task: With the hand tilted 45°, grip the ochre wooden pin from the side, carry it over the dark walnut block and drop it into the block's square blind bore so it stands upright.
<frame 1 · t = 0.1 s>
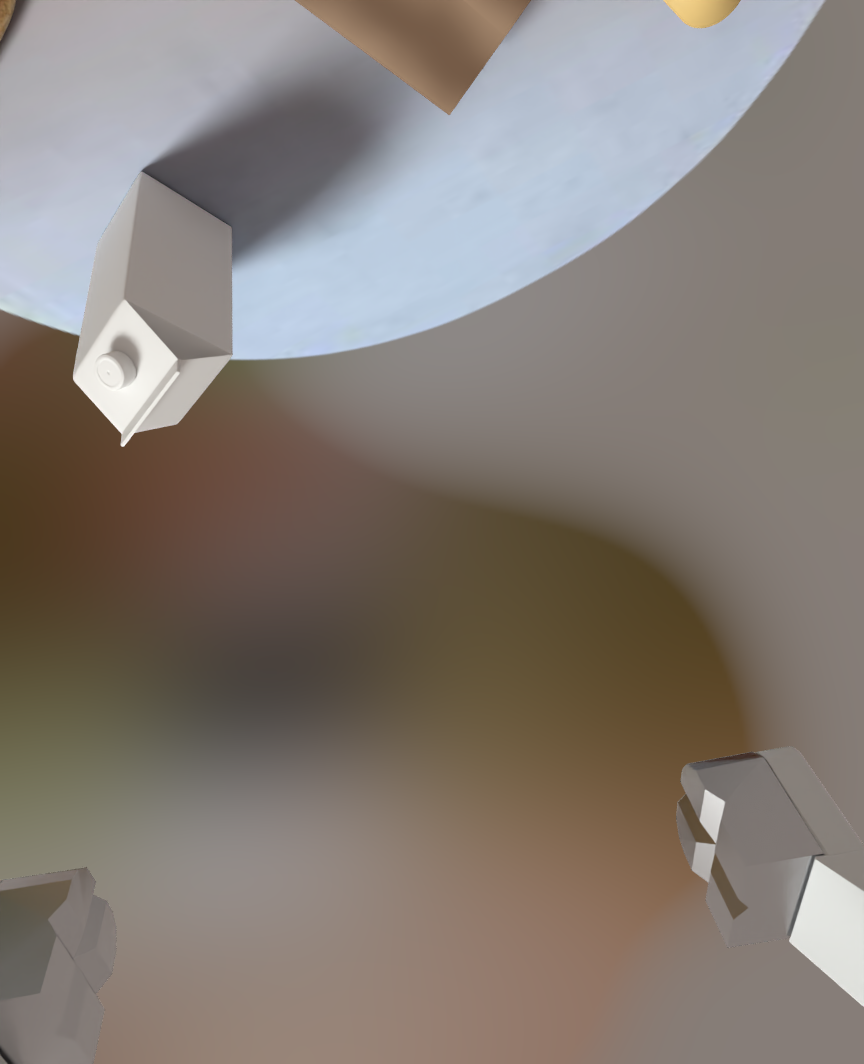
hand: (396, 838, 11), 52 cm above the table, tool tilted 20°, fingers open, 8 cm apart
milk carton: (164, 233, 58), on the table
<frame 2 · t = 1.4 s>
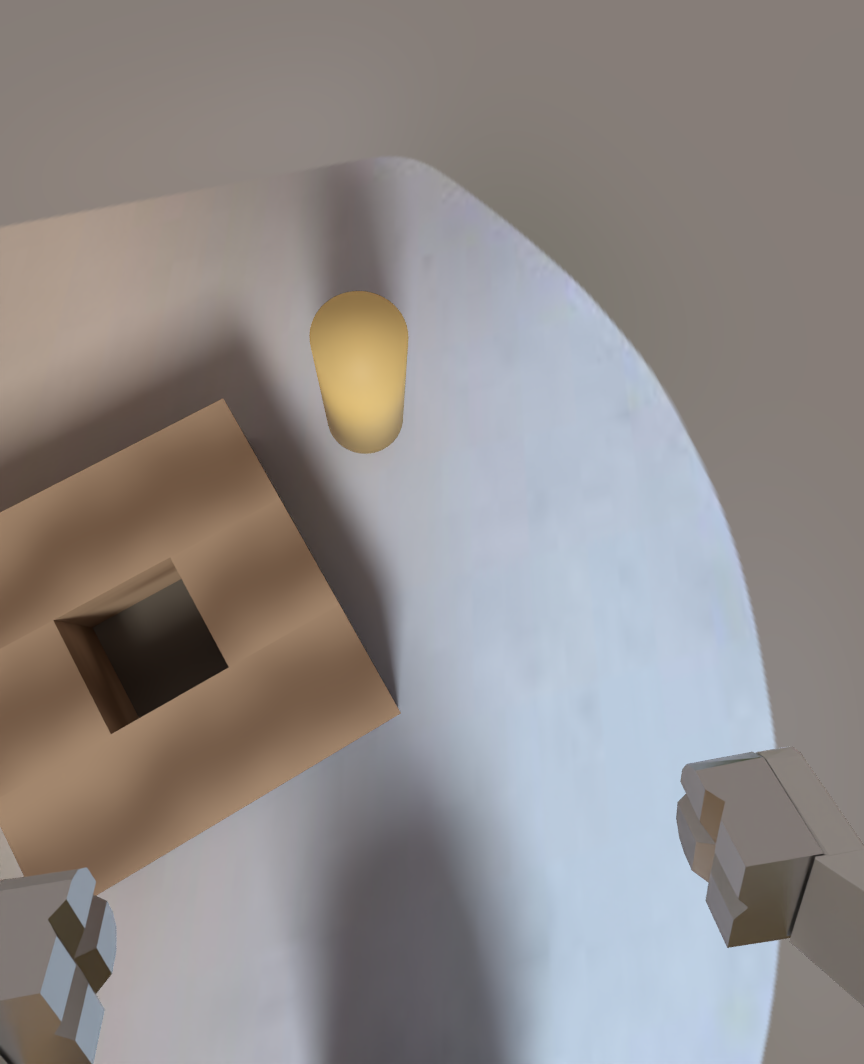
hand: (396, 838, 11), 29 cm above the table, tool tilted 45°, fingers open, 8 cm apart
pin: (365, 417, 42), on the table
bore block: (178, 649, 39), on the table
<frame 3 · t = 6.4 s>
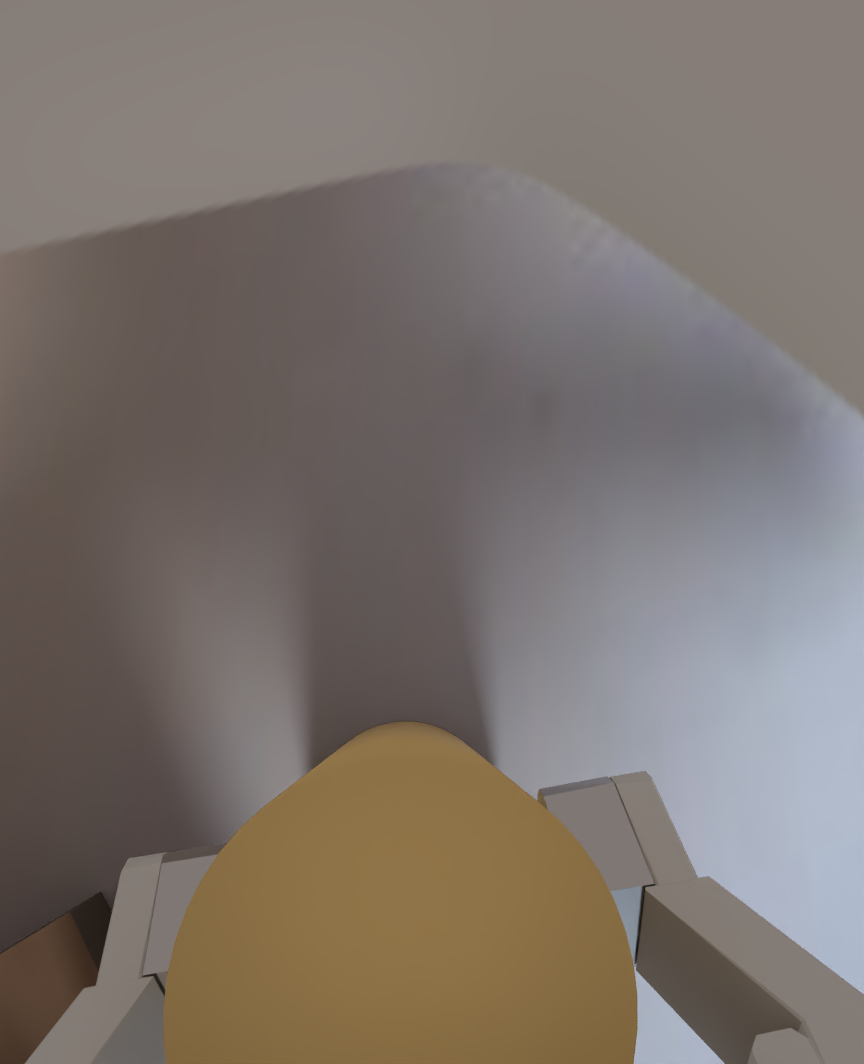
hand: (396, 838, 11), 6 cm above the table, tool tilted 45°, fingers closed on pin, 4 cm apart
pin: (405, 819, 16), on the table, touching gripper
when the fingers open (9 cm above the table, at t = 13.0 s): pin drops 1 cm, resting on bore block.
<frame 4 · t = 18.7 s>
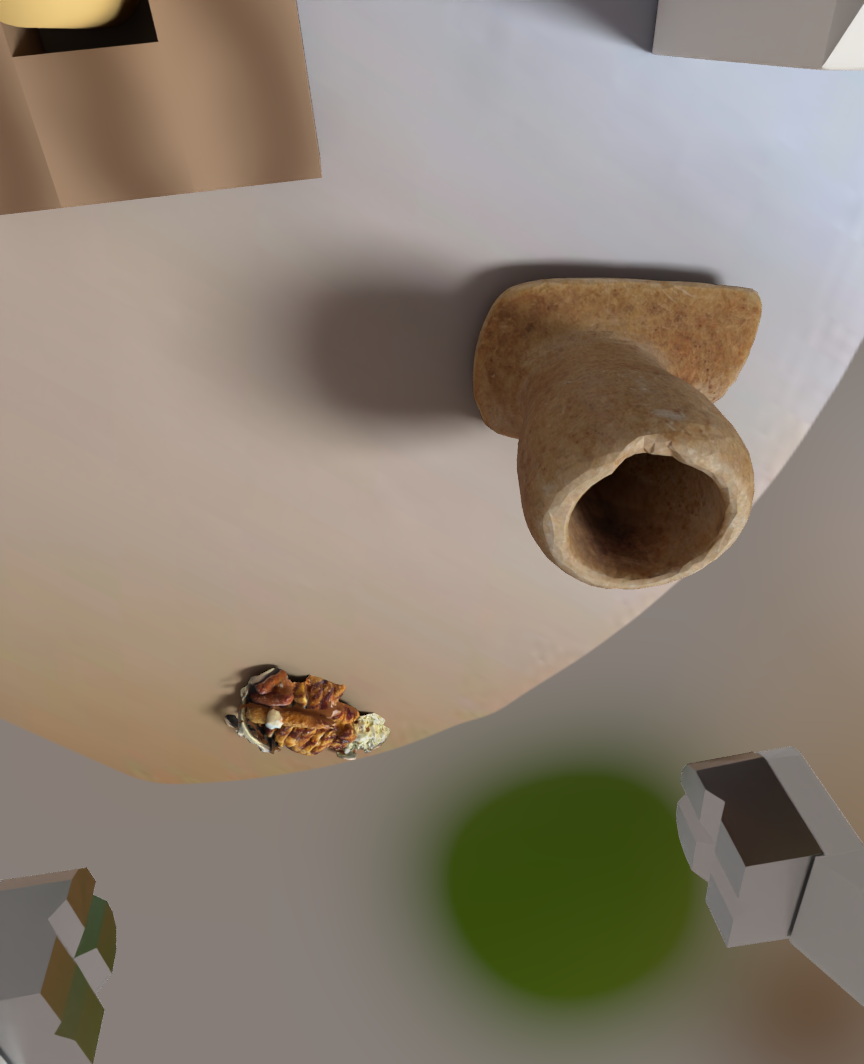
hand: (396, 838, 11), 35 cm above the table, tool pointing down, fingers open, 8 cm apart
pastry: (315, 706, 58), on the table
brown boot: (593, 370, 46), on the table
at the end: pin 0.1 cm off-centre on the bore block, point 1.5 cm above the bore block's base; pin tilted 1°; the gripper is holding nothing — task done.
